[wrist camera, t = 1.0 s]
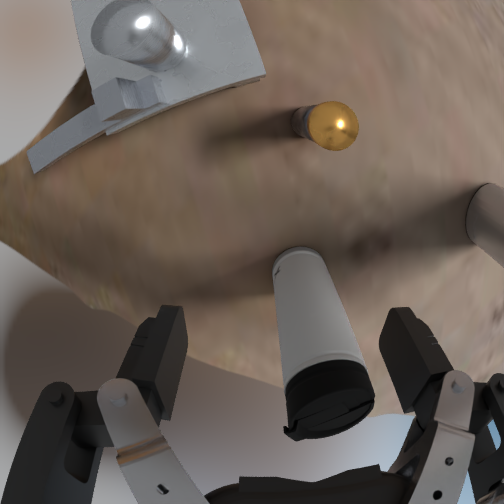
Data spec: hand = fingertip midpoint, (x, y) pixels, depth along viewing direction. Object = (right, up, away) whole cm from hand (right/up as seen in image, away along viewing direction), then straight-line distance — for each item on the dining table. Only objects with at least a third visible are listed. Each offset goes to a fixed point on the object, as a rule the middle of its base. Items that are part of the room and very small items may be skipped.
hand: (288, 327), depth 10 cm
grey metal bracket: (-13, +23, +11) cm, 29 cm away
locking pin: (+4, +16, +15) cm, 22 cm away
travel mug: (+4, +1, +23) cm, 23 cm away
